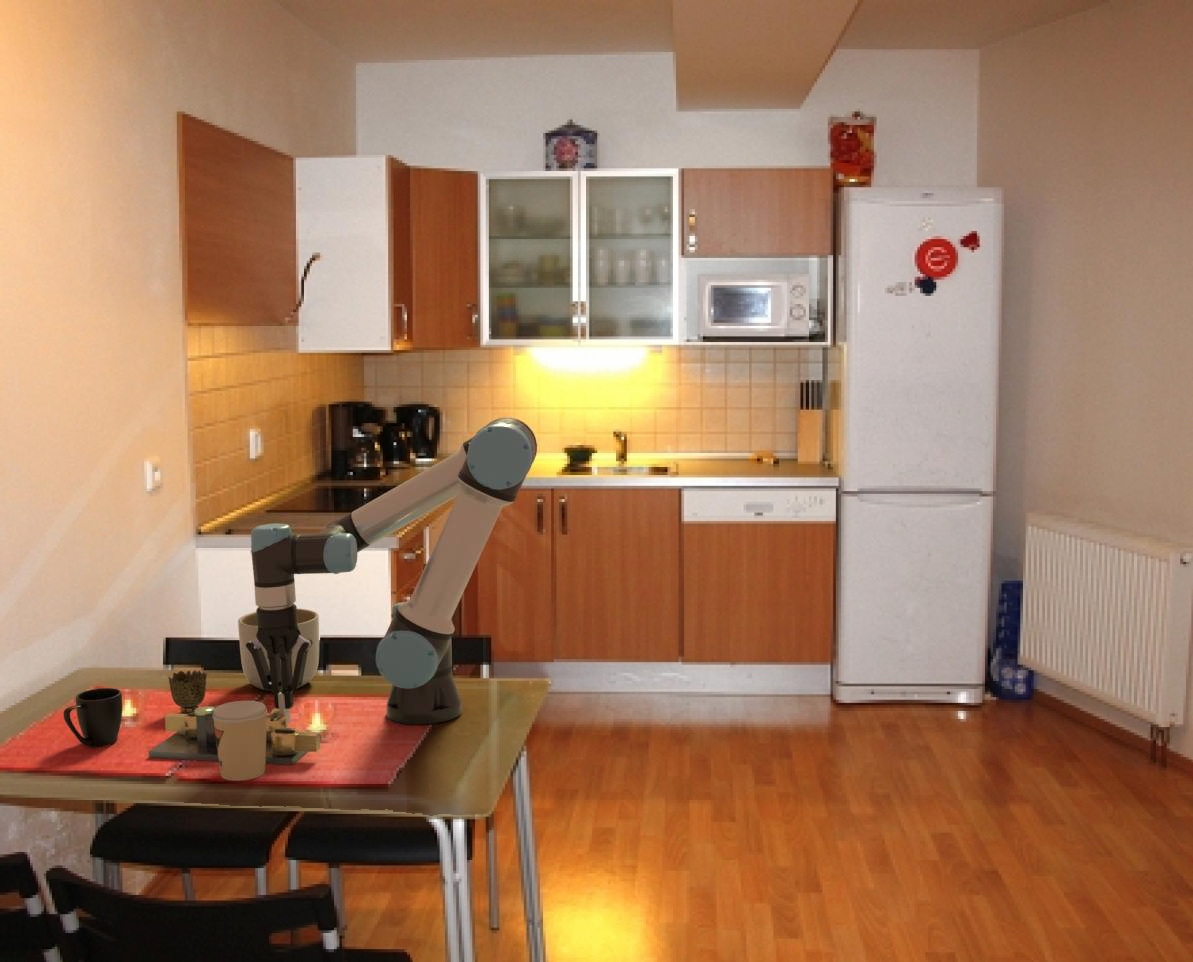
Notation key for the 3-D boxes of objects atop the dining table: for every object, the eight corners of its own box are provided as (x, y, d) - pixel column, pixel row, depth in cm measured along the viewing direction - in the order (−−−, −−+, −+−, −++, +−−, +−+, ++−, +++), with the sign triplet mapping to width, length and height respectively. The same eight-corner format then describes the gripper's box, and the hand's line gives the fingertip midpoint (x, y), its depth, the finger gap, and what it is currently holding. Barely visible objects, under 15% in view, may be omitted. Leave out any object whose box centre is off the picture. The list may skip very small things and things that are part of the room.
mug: (52, 751, 246) (49, 702, 245) (104, 732, 257) (101, 685, 255) (82, 758, 242) (78, 708, 241) (133, 739, 253) (130, 691, 251)
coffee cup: (222, 764, 238) (218, 700, 237) (274, 762, 239) (271, 698, 237) (210, 783, 229) (206, 717, 227) (265, 781, 230) (261, 715, 228)
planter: (299, 669, 299) (296, 604, 297) (335, 686, 286) (332, 618, 284) (228, 683, 288) (225, 616, 286) (261, 701, 275) (258, 631, 273)
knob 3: (267, 754, 239) (266, 733, 238) (278, 745, 244) (277, 725, 243) (313, 756, 237) (312, 736, 237) (323, 747, 242) (322, 727, 242)
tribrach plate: (321, 739, 251) (319, 698, 250) (292, 764, 238) (290, 722, 237) (184, 732, 256) (182, 693, 255) (149, 757, 242) (146, 715, 241)
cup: (197, 719, 264) (195, 680, 263) (163, 717, 266) (161, 679, 265) (215, 707, 271) (213, 670, 270) (182, 706, 273) (180, 668, 272)
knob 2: (285, 739, 247) (284, 719, 246) (258, 740, 246) (257, 720, 246) (291, 724, 255) (290, 705, 255) (265, 725, 255) (264, 706, 254)
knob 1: (217, 729, 253) (216, 709, 252) (205, 738, 248) (204, 718, 248) (174, 727, 254) (173, 708, 254) (161, 736, 250) (160, 716, 249)
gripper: (314, 600, 253) (323, 718, 256) (253, 600, 255) (262, 717, 258) (299, 609, 246) (309, 731, 249) (236, 610, 248) (246, 730, 251)
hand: (285, 724), depth 254 cm, fingers closed
